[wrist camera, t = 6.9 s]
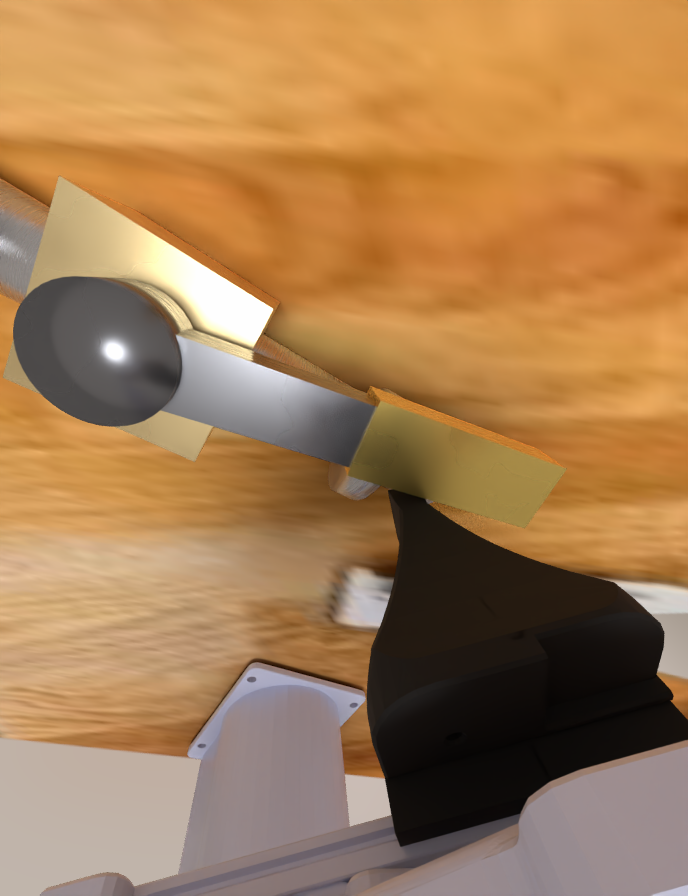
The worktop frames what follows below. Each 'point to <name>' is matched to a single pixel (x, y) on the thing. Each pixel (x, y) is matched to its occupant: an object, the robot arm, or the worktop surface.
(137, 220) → the valve body
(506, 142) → the worktop surface
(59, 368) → the lever
